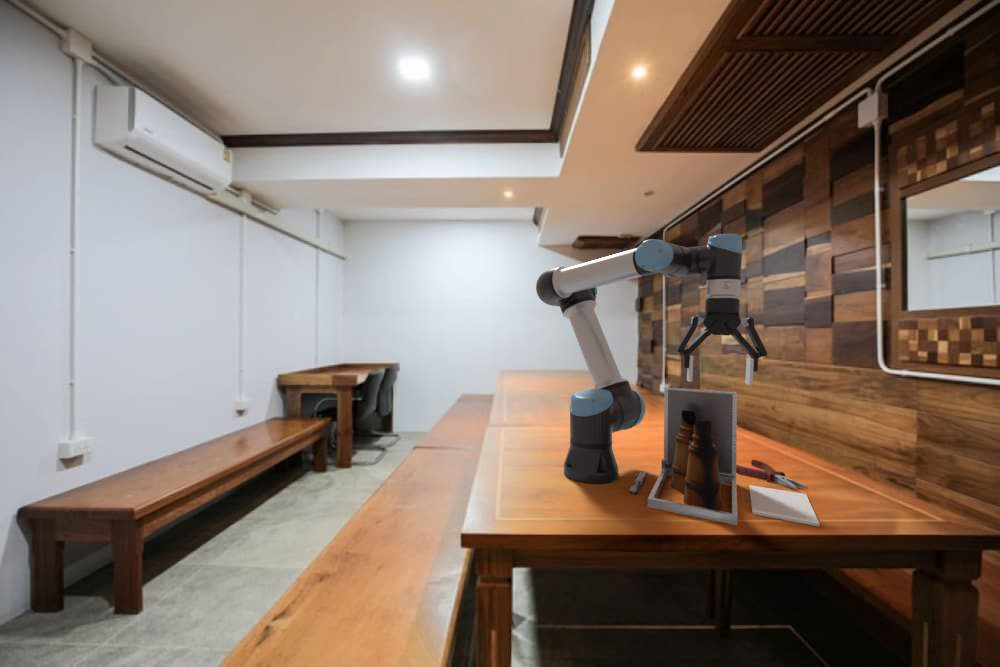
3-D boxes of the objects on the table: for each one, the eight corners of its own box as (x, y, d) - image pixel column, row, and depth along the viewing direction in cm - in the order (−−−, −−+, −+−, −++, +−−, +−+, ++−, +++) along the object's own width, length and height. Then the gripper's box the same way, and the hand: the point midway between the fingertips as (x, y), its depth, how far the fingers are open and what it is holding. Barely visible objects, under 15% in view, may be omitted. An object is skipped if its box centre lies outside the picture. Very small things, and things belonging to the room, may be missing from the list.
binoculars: (666, 481, 112) (667, 407, 112) (698, 482, 111) (699, 408, 111) (690, 510, 94) (691, 423, 94) (728, 512, 93) (729, 424, 93)
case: (646, 506, 96) (647, 401, 95) (663, 472, 119) (663, 387, 119) (737, 525, 87) (738, 409, 87) (736, 483, 110) (737, 392, 110)
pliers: (785, 495, 104) (785, 485, 104) (723, 469, 123) (723, 460, 123) (820, 491, 107) (821, 481, 107) (754, 466, 126) (755, 458, 126)
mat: (752, 513, 92) (752, 511, 92) (749, 487, 108) (749, 485, 108) (819, 526, 86) (819, 523, 86) (805, 496, 102) (806, 494, 102)
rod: (629, 495, 103) (628, 488, 104) (640, 477, 116) (639, 471, 116) (636, 495, 103) (635, 488, 103) (646, 478, 115) (645, 471, 115)
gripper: (671, 296, 102) (668, 381, 103) (785, 297, 96) (781, 388, 97) (666, 298, 109) (663, 377, 110) (772, 299, 104) (768, 383, 104)
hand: (718, 382), depth 103 cm, fingers open, 13 cm apart
